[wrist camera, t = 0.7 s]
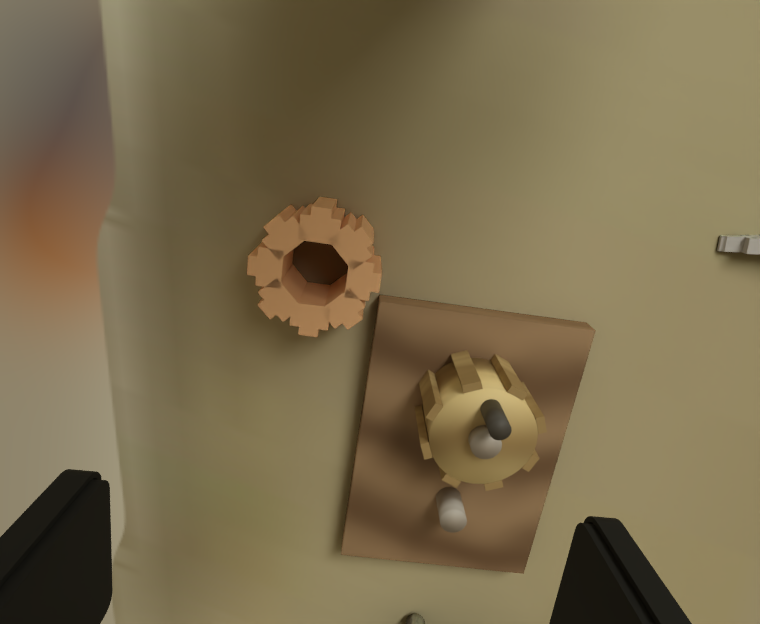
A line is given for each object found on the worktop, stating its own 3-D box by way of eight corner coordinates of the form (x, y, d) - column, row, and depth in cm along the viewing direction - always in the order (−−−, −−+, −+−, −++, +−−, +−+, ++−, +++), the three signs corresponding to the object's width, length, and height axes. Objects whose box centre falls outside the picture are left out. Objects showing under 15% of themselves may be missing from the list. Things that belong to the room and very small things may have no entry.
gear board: (379, 294, 34) (381, 343, 26) (586, 322, 35) (649, 378, 27) (342, 539, 41) (334, 638, 33) (518, 558, 41) (553, 659, 33)
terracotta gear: (268, 189, 32) (252, 197, 28) (388, 206, 32) (390, 217, 28) (259, 303, 34) (243, 327, 30) (371, 318, 35) (371, 344, 30)
